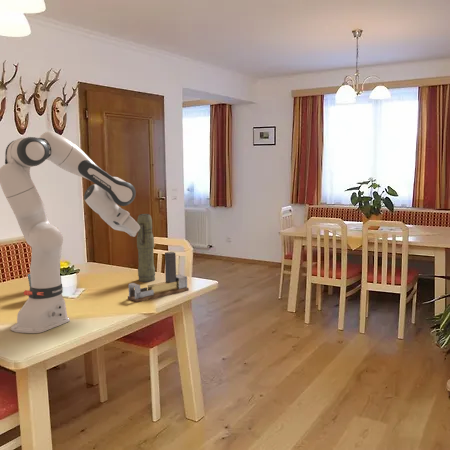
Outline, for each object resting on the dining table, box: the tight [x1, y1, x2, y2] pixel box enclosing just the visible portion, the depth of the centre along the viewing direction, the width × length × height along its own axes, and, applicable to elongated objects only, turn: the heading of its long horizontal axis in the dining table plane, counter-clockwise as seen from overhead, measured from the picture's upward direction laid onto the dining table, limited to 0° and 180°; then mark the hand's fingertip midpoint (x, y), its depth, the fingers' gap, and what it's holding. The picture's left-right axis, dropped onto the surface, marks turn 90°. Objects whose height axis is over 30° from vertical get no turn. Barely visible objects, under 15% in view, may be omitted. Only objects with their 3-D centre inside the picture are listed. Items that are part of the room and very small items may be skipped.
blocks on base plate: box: [147, 251, 178, 294], centre depth 228 cm, size 18×4×18 cm, turn 132°
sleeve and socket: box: [128, 273, 188, 299], centre depth 226 cm, size 29×6×7 cm, turn 132°
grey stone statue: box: [136, 213, 156, 283], centre depth 253 cm, size 9×12×35 cm
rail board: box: [127, 286, 190, 303], centre depth 227 cm, size 29×8×1 cm, turn 132°
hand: (134, 235), depth 217 cm, fingers closed
